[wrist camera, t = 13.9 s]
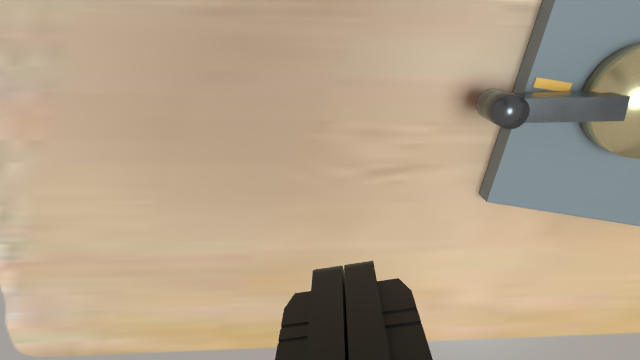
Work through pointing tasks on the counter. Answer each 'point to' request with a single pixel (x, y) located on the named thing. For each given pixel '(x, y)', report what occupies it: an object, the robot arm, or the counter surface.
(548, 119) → the tan disc with handle
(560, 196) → the instrument base
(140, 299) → the counter surface
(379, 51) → the counter surface
